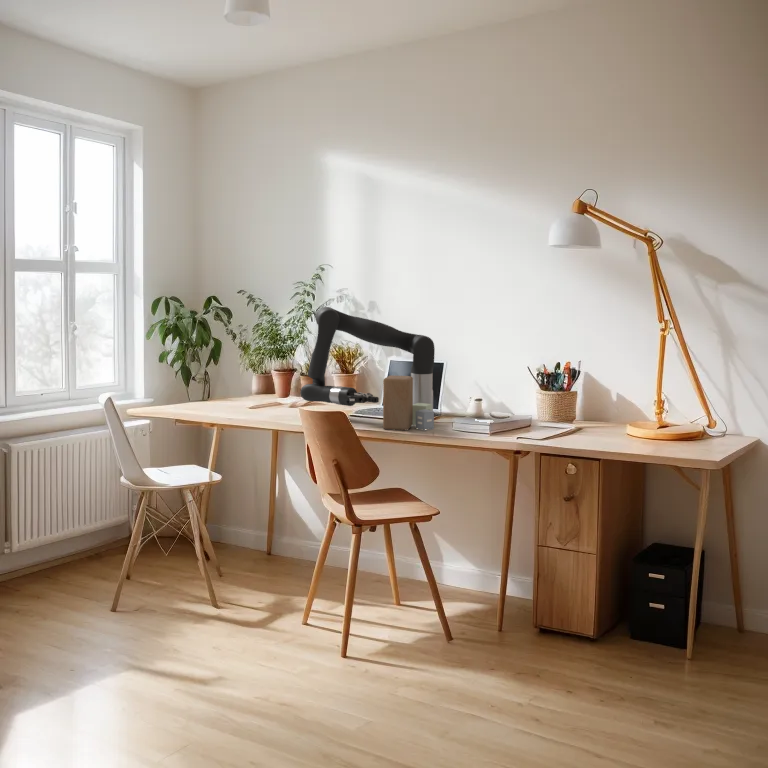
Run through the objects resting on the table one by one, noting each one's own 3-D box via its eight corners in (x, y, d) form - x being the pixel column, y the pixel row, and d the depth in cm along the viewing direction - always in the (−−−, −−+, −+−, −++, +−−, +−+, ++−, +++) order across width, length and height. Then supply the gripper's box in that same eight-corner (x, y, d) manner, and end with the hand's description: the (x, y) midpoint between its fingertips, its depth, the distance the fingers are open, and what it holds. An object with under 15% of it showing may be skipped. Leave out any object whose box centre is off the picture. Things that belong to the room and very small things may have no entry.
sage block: (417, 422, 343) (417, 402, 342) (431, 423, 340) (432, 404, 339) (411, 425, 337) (411, 405, 336) (425, 426, 335) (426, 406, 334)
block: (408, 430, 325) (408, 379, 322) (382, 429, 327) (382, 378, 324) (412, 426, 335) (413, 375, 332) (388, 425, 337) (388, 375, 334)
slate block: (425, 427, 333) (425, 409, 332) (434, 429, 329) (434, 411, 328) (415, 428, 330) (415, 410, 329) (424, 430, 326) (424, 412, 325)
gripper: (332, 388, 340) (367, 392, 330) (353, 384, 350) (387, 388, 340) (333, 407, 341) (367, 411, 331) (353, 402, 351) (387, 407, 341)
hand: (377, 400), depth 335 cm, fingers closed
